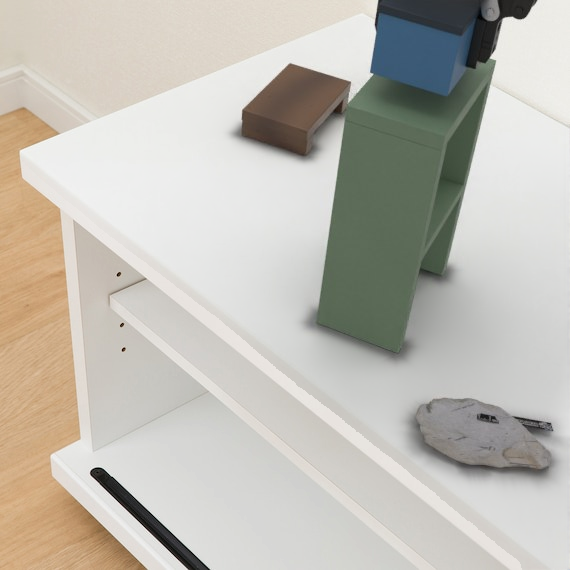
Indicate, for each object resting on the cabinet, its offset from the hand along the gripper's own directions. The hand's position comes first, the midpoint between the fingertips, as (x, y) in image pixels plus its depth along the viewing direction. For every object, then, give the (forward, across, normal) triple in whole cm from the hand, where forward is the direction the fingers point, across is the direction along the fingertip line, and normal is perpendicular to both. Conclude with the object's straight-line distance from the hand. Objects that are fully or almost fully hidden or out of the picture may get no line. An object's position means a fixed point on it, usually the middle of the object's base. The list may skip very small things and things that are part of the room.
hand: (432, 50), depth 71 cm
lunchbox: (0, 0, 0) cm, 1 cm away
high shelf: (+22, 0, 0) cm, 22 cm away
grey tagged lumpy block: (+20, +13, -14) cm, 28 cm away
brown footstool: (+22, -18, +20) cm, 35 cm away
